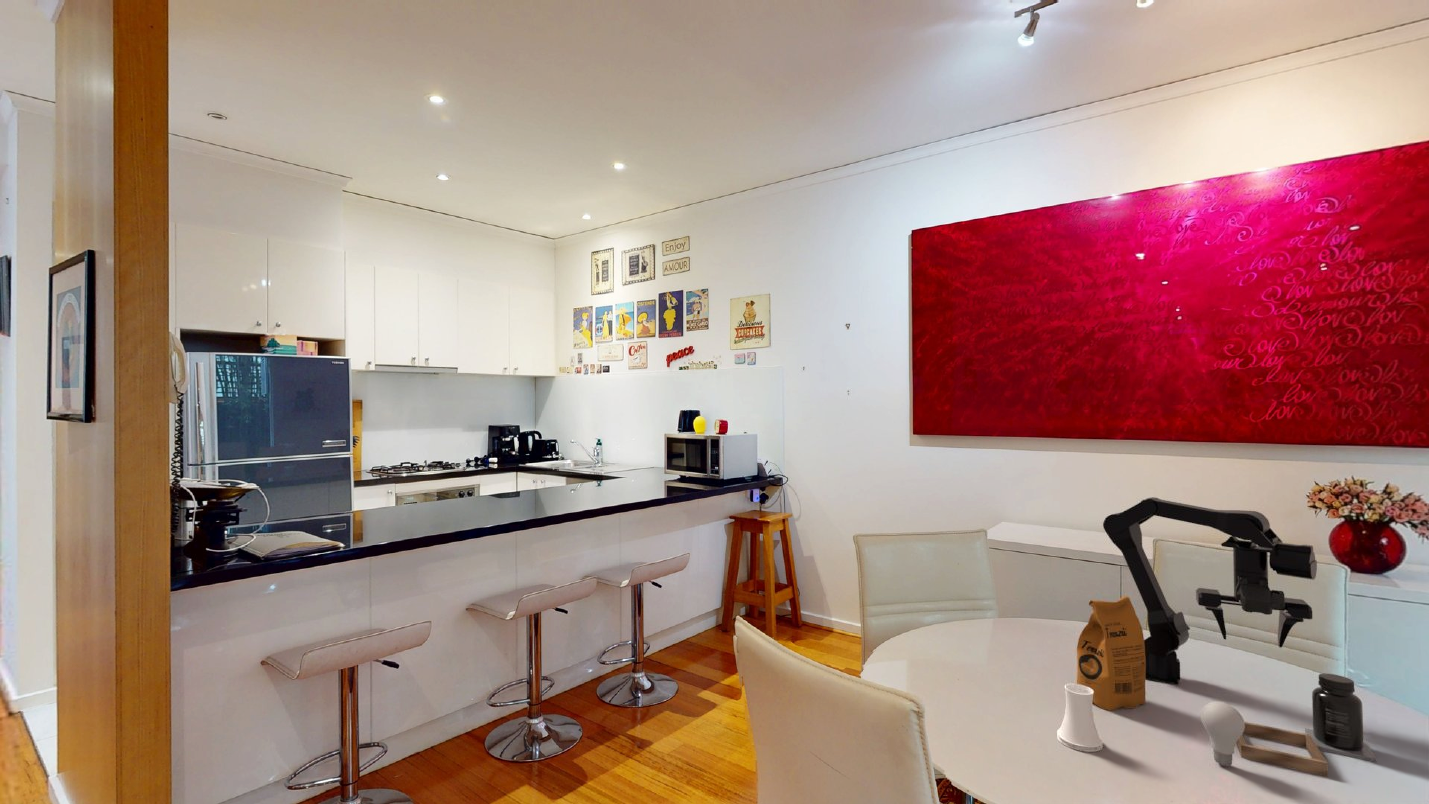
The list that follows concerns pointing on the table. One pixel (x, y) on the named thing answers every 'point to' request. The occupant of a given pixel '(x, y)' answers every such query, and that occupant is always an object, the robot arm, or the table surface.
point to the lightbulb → (1222, 729)
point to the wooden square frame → (1311, 765)
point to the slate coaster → (1361, 754)
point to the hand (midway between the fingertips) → (1251, 642)
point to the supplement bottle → (1337, 713)
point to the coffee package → (1113, 655)
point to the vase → (1079, 720)
